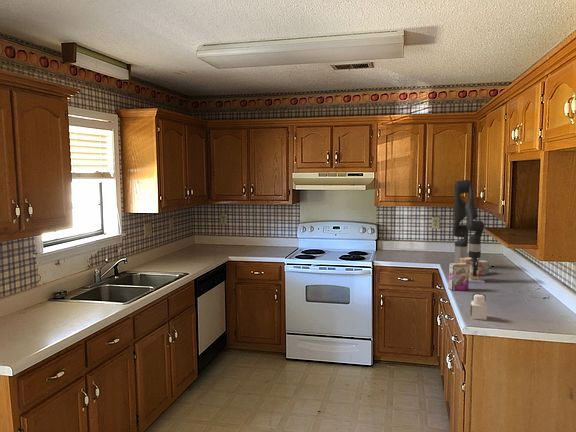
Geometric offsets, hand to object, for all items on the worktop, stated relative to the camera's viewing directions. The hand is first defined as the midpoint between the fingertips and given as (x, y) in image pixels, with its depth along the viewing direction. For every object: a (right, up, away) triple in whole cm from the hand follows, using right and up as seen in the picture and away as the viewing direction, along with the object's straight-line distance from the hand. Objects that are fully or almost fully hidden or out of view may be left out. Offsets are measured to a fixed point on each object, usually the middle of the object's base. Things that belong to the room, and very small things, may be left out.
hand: (473, 275), depth 320 cm
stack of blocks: (+8, -2, +20) cm, 22 cm away
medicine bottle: (-29, -12, -80) cm, 86 cm away
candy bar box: (-19, -6, -23) cm, 30 cm away
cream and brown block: (0, -2, 0) cm, 2 cm away
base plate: (0, -4, 0) cm, 4 cm away
